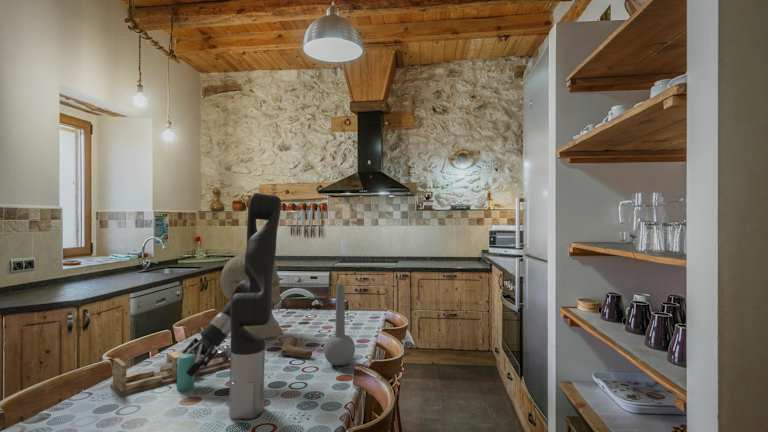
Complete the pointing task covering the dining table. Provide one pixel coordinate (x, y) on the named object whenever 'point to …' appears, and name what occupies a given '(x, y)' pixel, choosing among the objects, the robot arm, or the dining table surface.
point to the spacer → (185, 372)
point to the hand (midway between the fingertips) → (183, 371)
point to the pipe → (294, 348)
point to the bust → (235, 275)
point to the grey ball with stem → (339, 335)
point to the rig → (155, 374)
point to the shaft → (223, 354)
